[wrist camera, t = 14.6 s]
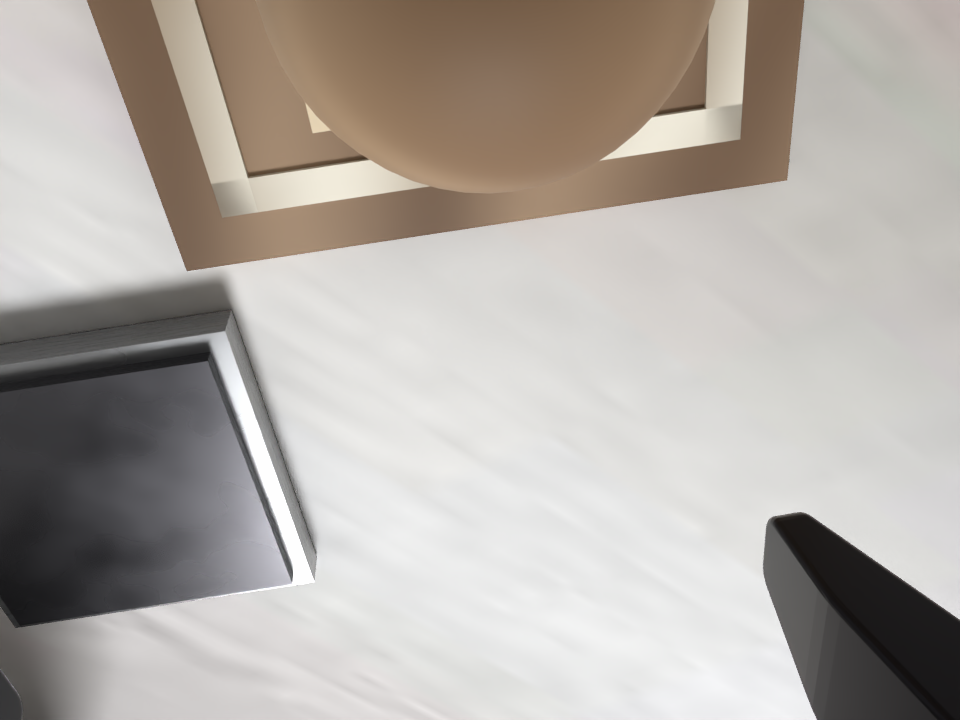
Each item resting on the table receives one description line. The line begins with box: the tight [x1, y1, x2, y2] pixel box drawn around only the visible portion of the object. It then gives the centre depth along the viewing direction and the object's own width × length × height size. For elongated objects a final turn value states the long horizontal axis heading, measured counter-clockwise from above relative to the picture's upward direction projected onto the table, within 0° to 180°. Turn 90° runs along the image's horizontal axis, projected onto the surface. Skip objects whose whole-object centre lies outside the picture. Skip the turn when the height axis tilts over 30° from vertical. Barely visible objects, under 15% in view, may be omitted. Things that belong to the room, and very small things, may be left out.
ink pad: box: [0, 310, 317, 628], centre depth 22 cm, size 9×9×1 cm
